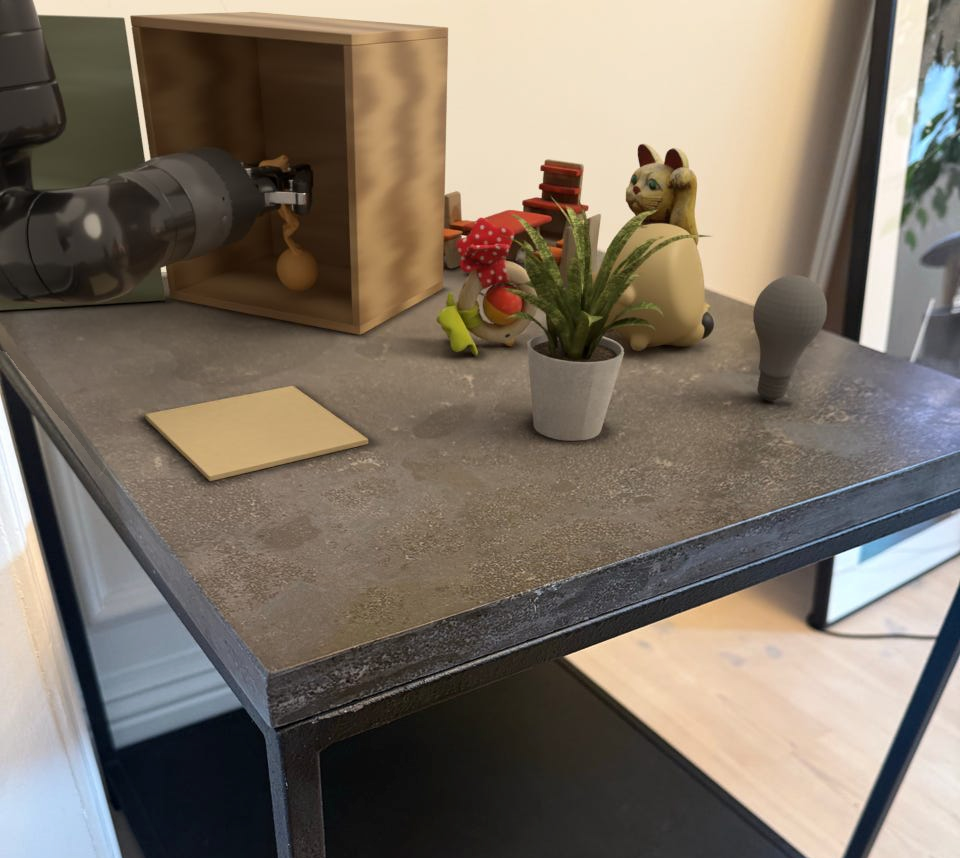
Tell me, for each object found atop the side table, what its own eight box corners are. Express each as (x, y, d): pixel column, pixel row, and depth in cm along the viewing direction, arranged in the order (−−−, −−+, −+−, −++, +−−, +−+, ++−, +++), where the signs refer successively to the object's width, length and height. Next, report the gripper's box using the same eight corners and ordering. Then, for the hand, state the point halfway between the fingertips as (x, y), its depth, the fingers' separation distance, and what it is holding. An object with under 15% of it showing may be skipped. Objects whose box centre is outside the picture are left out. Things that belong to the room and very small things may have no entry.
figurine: (321, 307, 91) (330, 173, 83) (256, 301, 89) (260, 164, 81) (313, 276, 97) (321, 149, 89) (252, 270, 95) (256, 140, 88)
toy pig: (671, 396, 88) (756, 313, 87) (611, 308, 80) (705, 214, 79) (616, 358, 95) (694, 280, 94) (556, 273, 87) (641, 186, 86)
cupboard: (360, 335, 88) (351, 34, 74) (169, 298, 94) (129, 15, 80) (442, 288, 101) (448, 27, 88) (271, 259, 108) (252, 11, 94)
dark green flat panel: (-75, 294, 91) (-159, 4, 78) (157, 281, 98) (117, 13, 85) (-80, 315, 86) (-171, 8, 73) (165, 300, 93) (124, 18, 80)
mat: (145, 419, 70) (144, 413, 70) (293, 390, 76) (292, 385, 76) (209, 481, 62) (209, 476, 62) (368, 444, 68) (368, 438, 68)
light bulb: (815, 412, 77) (849, 285, 71) (753, 414, 76) (782, 286, 70) (784, 387, 82) (813, 266, 76) (724, 389, 80) (749, 267, 75)
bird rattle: (494, 355, 91) (411, 322, 87) (547, 243, 86) (461, 201, 82) (516, 379, 86) (429, 345, 82) (573, 261, 81) (484, 218, 77)
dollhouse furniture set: (410, 265, 108) (410, 171, 103) (489, 235, 122) (493, 151, 116) (559, 295, 101) (568, 195, 96) (626, 260, 115) (638, 171, 109)
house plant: (678, 403, 77) (716, 186, 68) (676, 475, 66) (721, 226, 57) (506, 384, 79) (520, 169, 70) (476, 451, 68) (487, 206, 58)
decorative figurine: (595, 295, 102) (612, 139, 93) (648, 285, 106) (670, 135, 97) (660, 319, 96) (685, 155, 87) (714, 308, 100) (743, 150, 91)
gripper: (263, 162, 72) (357, 136, 86) (104, 144, 75) (219, 122, 89) (270, 265, 76) (358, 225, 90) (120, 243, 80) (227, 208, 93)
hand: (289, 174), depth 89 cm, fingers open, 3 cm apart
